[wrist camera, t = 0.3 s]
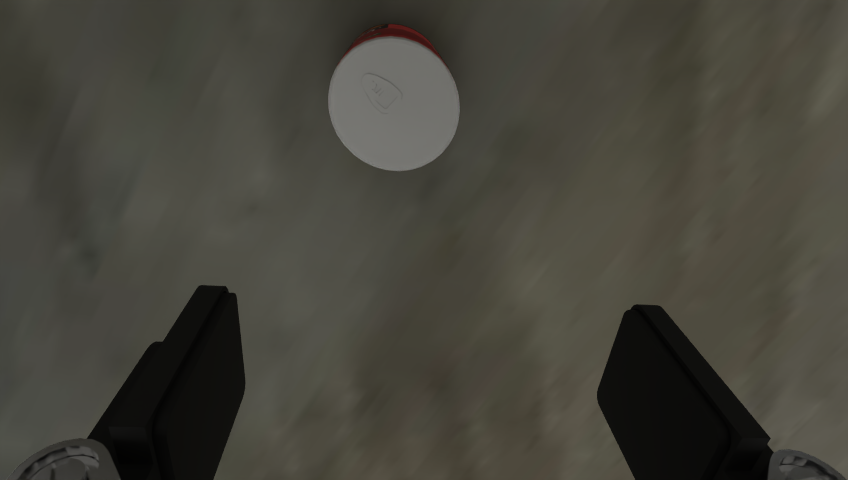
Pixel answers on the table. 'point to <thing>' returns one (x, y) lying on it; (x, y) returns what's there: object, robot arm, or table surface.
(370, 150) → the canned food
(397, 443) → the table surface
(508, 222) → the table surface
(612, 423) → the robot arm
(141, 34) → the table surface
